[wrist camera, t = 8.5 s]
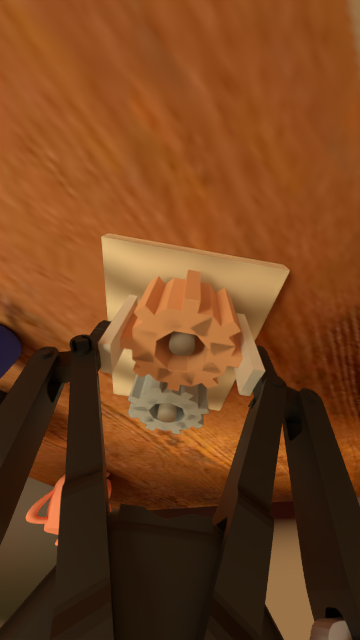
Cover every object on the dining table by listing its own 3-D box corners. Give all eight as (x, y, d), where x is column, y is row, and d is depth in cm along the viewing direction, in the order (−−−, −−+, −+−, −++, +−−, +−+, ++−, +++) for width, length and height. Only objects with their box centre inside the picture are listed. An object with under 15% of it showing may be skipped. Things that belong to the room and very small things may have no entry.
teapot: (105, 460, 47) (77, 543, 36) (128, 484, 57) (111, 555, 46) (49, 460, 50) (8, 536, 39) (80, 482, 60) (53, 549, 48)
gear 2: (127, 356, 23) (112, 391, 19) (199, 346, 22) (200, 383, 18) (150, 399, 28) (142, 434, 24) (211, 394, 26) (214, 432, 22)
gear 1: (139, 260, 15) (117, 286, 11) (248, 280, 16) (265, 312, 12) (136, 343, 21) (121, 381, 16) (218, 357, 21) (223, 398, 17)
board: (108, 233, 17) (62, 255, 11) (283, 264, 17) (326, 302, 12) (117, 385, 29) (97, 432, 24) (218, 401, 30) (223, 452, 24)
